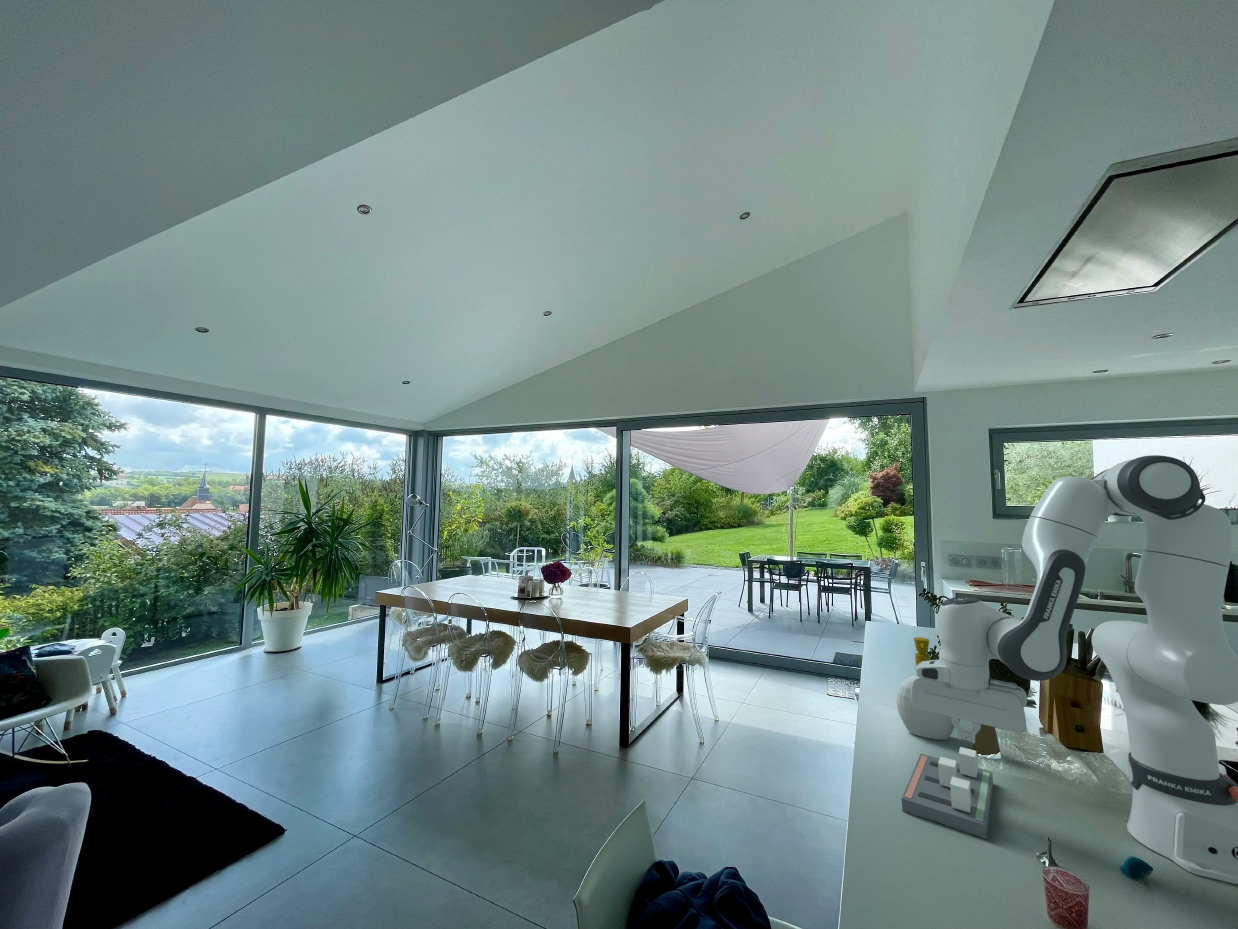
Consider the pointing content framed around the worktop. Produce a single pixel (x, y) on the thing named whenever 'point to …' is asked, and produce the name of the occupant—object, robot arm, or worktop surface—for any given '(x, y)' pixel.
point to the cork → (986, 741)
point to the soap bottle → (916, 718)
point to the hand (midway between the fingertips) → (966, 740)
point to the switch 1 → (968, 762)
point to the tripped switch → (947, 771)
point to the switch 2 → (960, 794)
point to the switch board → (948, 797)
